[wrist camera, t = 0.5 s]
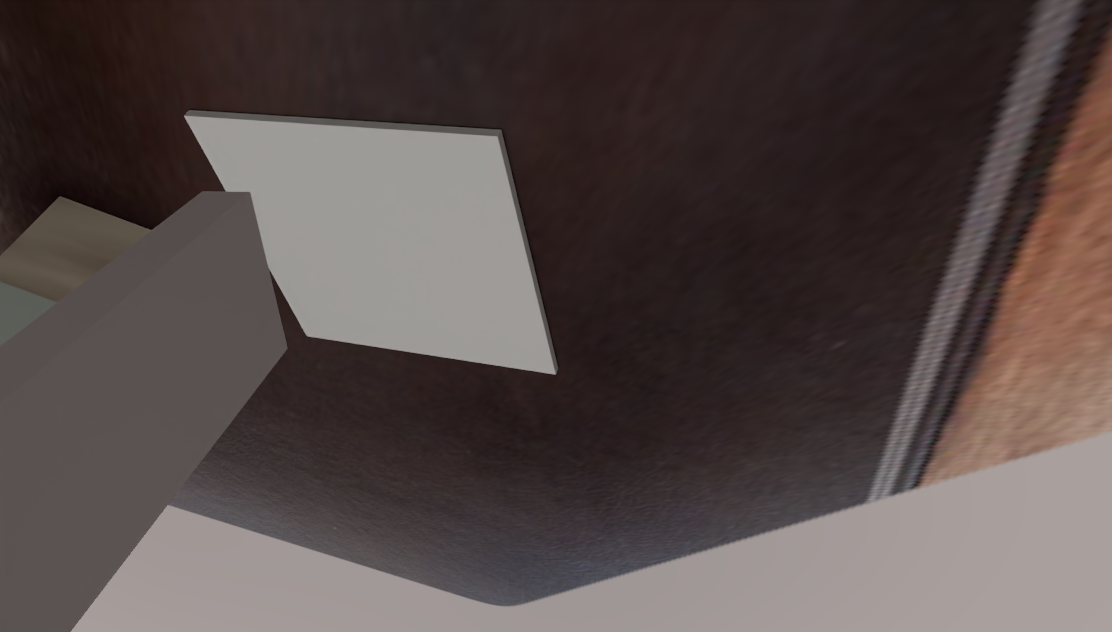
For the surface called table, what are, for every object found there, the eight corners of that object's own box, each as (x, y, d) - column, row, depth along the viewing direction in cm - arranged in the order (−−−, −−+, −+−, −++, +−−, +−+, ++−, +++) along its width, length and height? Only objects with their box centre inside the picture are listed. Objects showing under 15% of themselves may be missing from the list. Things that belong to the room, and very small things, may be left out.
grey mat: (189, 110, 36) (183, 115, 35) (501, 129, 31) (497, 136, 31) (310, 330, 46) (306, 336, 46) (558, 368, 42) (555, 374, 41)
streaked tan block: (60, 196, 43) (-72, 328, 38) (205, 250, 43) (94, 392, 38) (97, 291, 50) (-11, 417, 44) (225, 339, 49) (132, 472, 44)
